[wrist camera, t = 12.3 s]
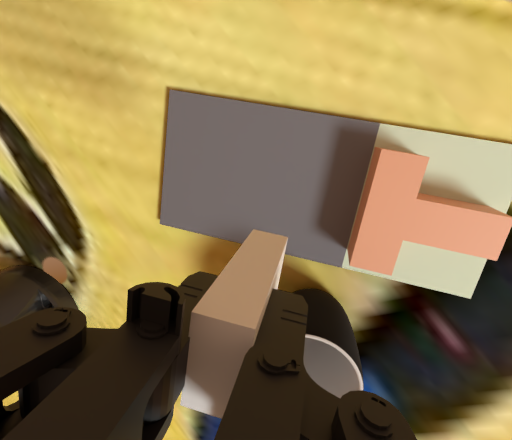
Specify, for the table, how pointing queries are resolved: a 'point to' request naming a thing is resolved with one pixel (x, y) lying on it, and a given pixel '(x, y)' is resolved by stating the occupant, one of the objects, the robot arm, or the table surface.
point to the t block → (417, 216)
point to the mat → (316, 181)
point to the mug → (330, 345)
